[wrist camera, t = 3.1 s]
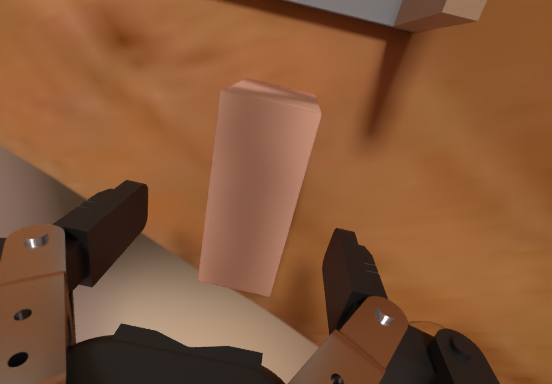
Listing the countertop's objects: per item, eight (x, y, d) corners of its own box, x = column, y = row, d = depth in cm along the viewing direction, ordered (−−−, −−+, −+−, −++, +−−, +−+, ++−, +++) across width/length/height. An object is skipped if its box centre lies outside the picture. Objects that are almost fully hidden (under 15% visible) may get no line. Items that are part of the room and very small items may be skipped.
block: (315, 94, 16) (321, 114, 11) (278, 234, 21) (269, 296, 15) (247, 78, 16) (220, 90, 11) (224, 221, 21) (197, 280, 15)
